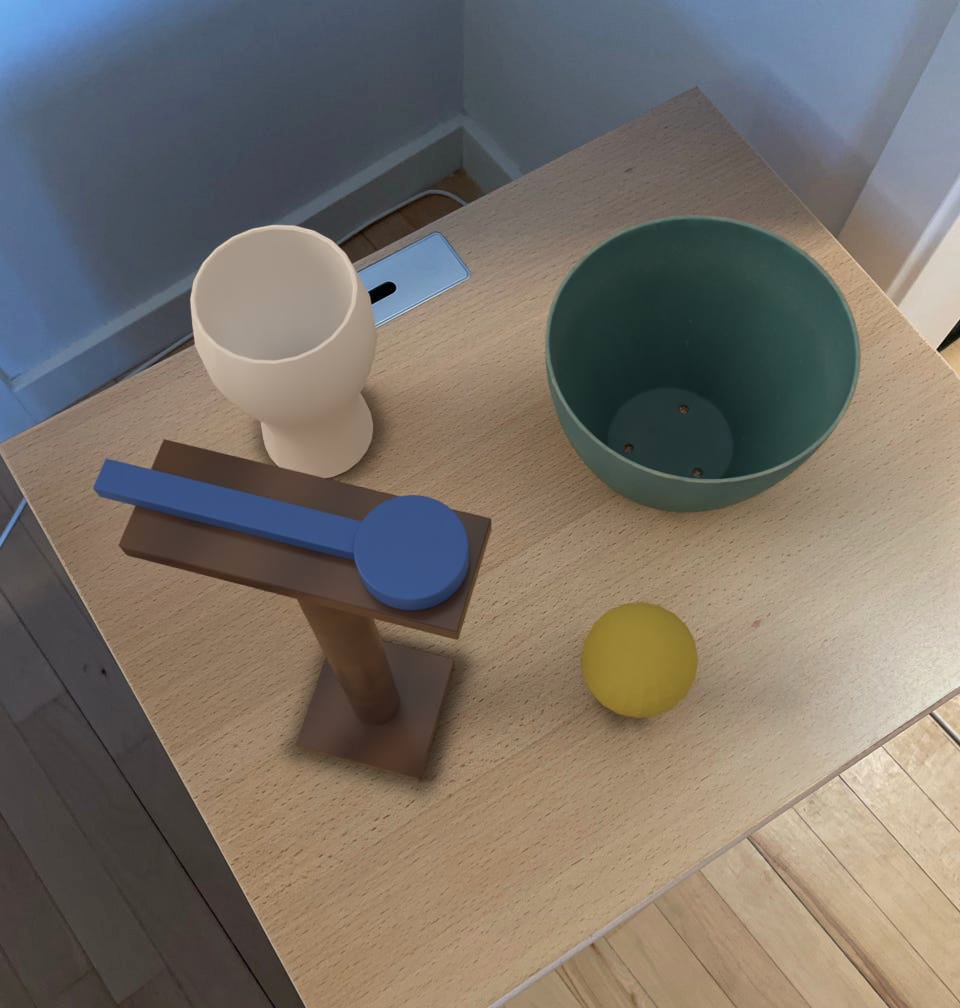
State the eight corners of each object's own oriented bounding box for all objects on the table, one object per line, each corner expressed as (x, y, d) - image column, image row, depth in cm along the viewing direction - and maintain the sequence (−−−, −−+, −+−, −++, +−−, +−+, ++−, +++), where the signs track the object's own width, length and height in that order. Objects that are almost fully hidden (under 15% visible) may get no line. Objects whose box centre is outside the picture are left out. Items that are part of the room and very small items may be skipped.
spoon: (85, 530, 41) (73, 516, 39) (126, 436, 42) (116, 420, 41) (452, 623, 39) (450, 612, 38) (482, 522, 40) (482, 509, 39)
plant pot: (822, 558, 68) (889, 469, 56) (549, 577, 68) (560, 491, 56) (778, 328, 74) (830, 205, 62) (527, 345, 74) (532, 224, 62)
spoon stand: (253, 736, 64) (103, 579, 40) (294, 622, 67) (176, 407, 42) (466, 794, 63) (446, 668, 38) (500, 675, 65) (501, 485, 41)
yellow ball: (699, 707, 64) (733, 658, 55) (612, 763, 63) (632, 723, 54) (637, 623, 66) (660, 562, 57) (552, 677, 65) (561, 624, 56)
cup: (423, 447, 71) (404, 311, 57) (292, 526, 69) (239, 406, 55) (343, 341, 74) (306, 187, 60) (215, 414, 72) (146, 273, 58)
